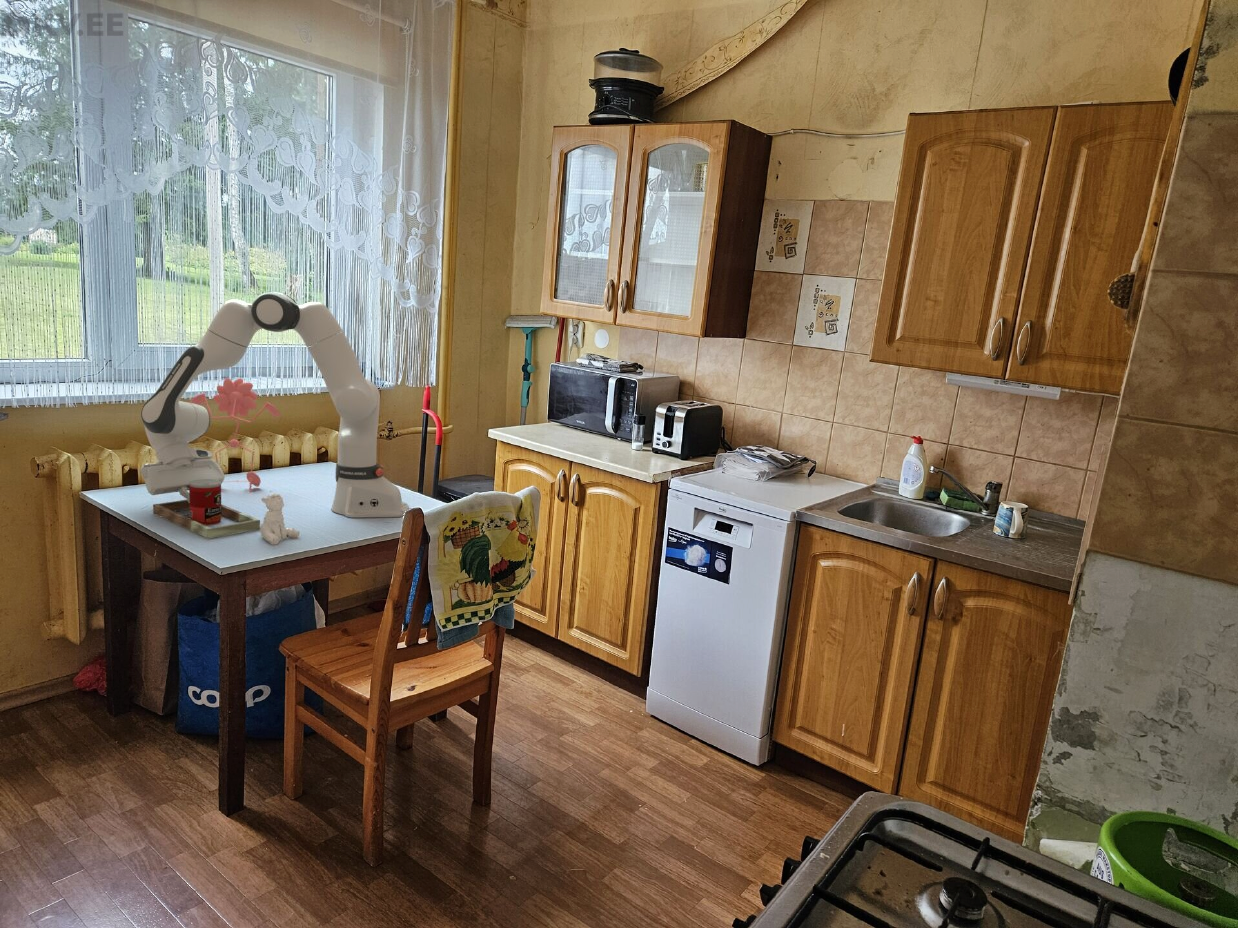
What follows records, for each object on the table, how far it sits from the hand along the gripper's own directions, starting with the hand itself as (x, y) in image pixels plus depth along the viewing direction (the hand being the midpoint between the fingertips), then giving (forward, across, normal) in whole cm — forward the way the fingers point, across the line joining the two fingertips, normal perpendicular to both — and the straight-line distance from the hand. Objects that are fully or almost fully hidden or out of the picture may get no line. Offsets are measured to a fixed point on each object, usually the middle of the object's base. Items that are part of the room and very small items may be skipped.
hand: (195, 501), depth 226 cm
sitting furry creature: (+25, +6, -18) cm, 31 cm away
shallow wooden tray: (+7, 0, -1) cm, 7 cm away
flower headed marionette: (-14, +25, +20) cm, 35 cm away
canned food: (+7, 0, -1) cm, 7 cm away
